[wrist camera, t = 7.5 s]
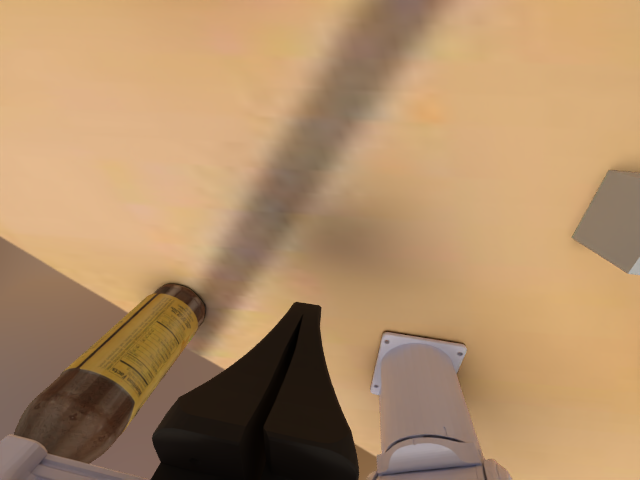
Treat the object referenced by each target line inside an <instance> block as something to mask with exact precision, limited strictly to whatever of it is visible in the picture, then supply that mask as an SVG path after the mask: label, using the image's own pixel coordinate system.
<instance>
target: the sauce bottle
mask: <svg viewBox="0 0 640 480" xmlns="http://www.w3.org/2000/svg"><path fill="white" fill-rule="evenodd" d="M204 315H205V307H204V304H203V302H202V301H201V300H200V298H199V297H198V296H197V295H196V294H195V293H194V292H193V291H192V290H191V289H189V288H187V287H184V286H181V285H175V284H167V285H164V286H162V287H160V288H159V289H157V290H156V291H155V292H154V293H153V294H152V295H149V296H147V297H146V298H145V299H144V300H143V301H142V302H140V303H139V304H138V305H137V306H136V307H135V308H134V309H133V310H132V311H130V312H129V313H128V314H127V315H126V316H125V317H124V318H123V319H122V320H121V321H119V322H118V323H117V324H116V325H115V326H114V327H113V328H112V329H110V330H109V331H108V332H107V333H106V334H105V335H104V336H103V337H101V338H100V339H99V340H98V341H97V342H96V343H95V344H94V345H92V346H91V347H90V348H89V349H88V350H87V351H86V352H85V353H83V354H82V355H81V356H80V357H79V358H78V359H77V360H76V361H74V362H73V363H72V364H71V365H70V366H69V367H68V368H67V369H66V370H64V371H63V372H62V374H61V375H60V377H59V378H58V379H56V380H55V381H54V382H53V383H52V384H51V385H50V386H49V387H47V388H46V389H45V390H44V391H43V392H42V393H41V394H39V395H38V396H37V397H36V398H35V399H34V400H33V401H32V402H31V403H30V405H29V406H28V407H27V408H26V410H25V411H24V413H23V415H22V416H21V418H20V420H19V423H18V425H17V427H16V430H15V432H14V435H16V436H20V437H24V438H28V439H32V440H35V441H37V442H39V443H41V444H42V445H43V446H44V447H45V448H46V450H47V453H48V454H52V455H55V456H59V457H63V458H67V459H71V460H75V461H79V462H83V463H87V464H89V463H91V462H92V461H94V460H95V459H97V458H98V457H100V456H101V455H102V454H104V452H106V451H107V450H108V449H109V448H110V447H111V445H112V444H113V443H114V442H115V441H116V439H117V438H118V437H119V436H120V435H121V434H122V432H124V430H125V429H126V428H127V426H128V425H129V423H130V422H131V421H132V419H133V418H134V417H135V415H136V414H137V412H138V411H139V410H140V408H141V407H142V406H143V404H144V403H145V401H146V400H147V399H148V397H149V396H150V395H151V393H152V392H153V391H154V389H155V388H156V387H157V385H158V384H159V382H160V381H161V380H162V378H163V377H164V376H165V374H166V373H167V372H168V370H169V369H170V367H171V366H172V365H173V363H174V362H175V361H176V359H177V358H178V357H179V355H180V354H181V352H182V351H183V349H184V348H185V347H186V345H187V344H188V343H189V341H190V340H191V338H192V337H193V336H194V334H195V333H196V331H197V329H198V327H199V326H200V325H201V323H202V322H203V319H204Z"/></svg>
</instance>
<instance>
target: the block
mask: <svg viewBox="0 0 640 480" xmlns="http://www.w3.org/2000/svg"><path fill="white" fill-rule="evenodd" d="M572 238H573V239H575V240H576V241H578V242H579V243H581V244H582V245H584V246H585V247H587V248H589V249H590V250H592V251H593V252H595V253H596V254H598V255H599V256H601V257H603V258H604V259H606V260H607V261H609V262H610V263H612V264H614V265H615V266H617V267H618V268H620V269H621V270H623V271H624V272H626V273H628V274H635V275H640V173H637V172H625V171H613V170H608V172H607V174H606V176H605V178H604V180H603V181H602V183H601V185H600V187H599V189H598V190H597V192H596V194H595V196H594V198H593V200H592V201H591V203H590V205H589V207H588V209H587V210H586V212H585V214H584V216H583V218H582V220H581V221H580V223H579V225H578V227H577V229H576V230H575V232H574V234H573V236H572Z"/></svg>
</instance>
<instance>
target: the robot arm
mask: <svg viewBox="0 0 640 480" xmlns="http://www.w3.org/2000/svg"><path fill="white" fill-rule="evenodd" d="M320 318H321V307H320V306H319V305H313V304H306V303H300V302H295V303H294V304H293V305H292V307H291V308H290V309H289V311H288V312H287V313H286V314H285V316H284V317H283V318H282V319H281V320H280V321H279V323H278V324H277V325H276V326H275V327H274V328H273V329H272V330H271V331H270V332H269V333H268V334H267V335H266V336H265V337H264V338H263V339H262V340H261V341H260V342H259V343H258V344H257V345H256V346H255V347H254V348H253V349H252V350H250V351H249V352H248V353H247V354H246V355H244V356H243V357H242V358H241V359H239V360H238V361H237V362H235V363H234V364H233V365H231V366H230V367H229V368H227V369H226V370H224V371H223V372H221V373H220V374H218V375H217V376H215V377H214V378H212V379H211V380H209V381H207V382H206V383H204V384H202V385H201V386H199V387H197V388H195V389H194V390H192V391H190V392H188V393H186V394H185V395H183V396H181V397H179V398H178V400H177V401H176V402H175V403H174V405H173V406H172V407H171V408H170V410H169V411H168V412H167V414H166V415H165V417H164V418H163V420H162V421H161V423H160V424H159V426H158V428H157V429H156V430H155V432H154V434H153V437H152V441H153V445H154V448H155V450H156V452H157V454H158V457H159V459H160V461H161V463H160V465H159V466H158V468H157V470H156V472H155V473H154V475H153V477H152V478H151V479H147V478H142V477H139V476H135V475H130V474H127V473H123V472H119V471H115V470H111V469H107V468H103V467H99V466H95V465H91V464H87V463H83V462H79V461H75V460H71V459H67V458H63V457H59V456H55V455H52V454H48V453H47V450H46V448H45V447H44V446H43V445H42V444H41V443H39V442H37V441H35V440H32V439H28V438H24V437H20V436H16V435H7V436H6V437H5V438H4V439H3V440H2V441H1V442H0V480H358V478H359V466H358V460H357V454H356V449H355V445H354V441H353V437H352V432H351V430H350V427H349V425H348V423H347V421H346V419H345V417H344V414H343V412H342V410H341V407H340V405H339V402H338V400H337V397H336V394H335V391H334V388H333V385H332V383H331V379H330V376H329V373H328V369H327V365H326V361H325V357H324V352H323V347H322V341H321V333H320ZM385 340H388V341H385ZM458 352H460V353H458ZM466 352H467V348H466V346H465V345H464V344H459V343H453V342H446V341H440V340H434V339H428V338H422V337H415V336H409V335H403V334H397V333H390V332H385V333H383V335H382V339H381V343H380V348H379V352H378V357H377V361H376V366H375V370H374V374H373V379H372V383H371V388H370V391H371V393H372V394H376V395H379V401H380V427H381V449H382V454H379V455H377V471H375V472H372V473H370V474H369V476H368V477H367V480H512V478H511V476H510V474H509V473H508V471H507V470H506V469H505V468H503V467H502V466H501V465H499V464H498V463H497V462H496V461H495V460H494V459H488V460H485V458H484V456H483V453H482V450H481V447H480V444H479V441H478V438H477V435H476V432H475V429H474V426H473V423H472V420H471V417H470V414H469V411H468V408H467V405H466V402H465V399H464V396H463V393H462V390H461V387H460V384H459V381H458V378H457V375H456V374H457V372H458V370H459V367H460V365H461V363H462V361H463V358H464V356H465V354H466Z"/></svg>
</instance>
